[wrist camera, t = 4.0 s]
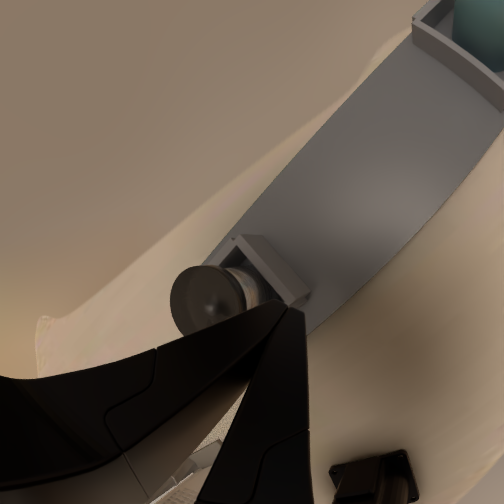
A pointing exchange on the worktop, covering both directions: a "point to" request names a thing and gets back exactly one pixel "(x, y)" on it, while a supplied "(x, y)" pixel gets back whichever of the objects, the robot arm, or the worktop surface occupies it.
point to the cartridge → (480, 30)
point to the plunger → (216, 295)
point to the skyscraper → (185, 494)
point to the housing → (371, 171)
